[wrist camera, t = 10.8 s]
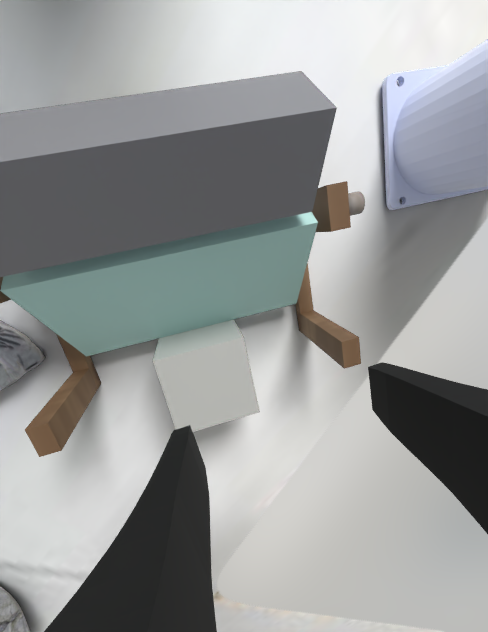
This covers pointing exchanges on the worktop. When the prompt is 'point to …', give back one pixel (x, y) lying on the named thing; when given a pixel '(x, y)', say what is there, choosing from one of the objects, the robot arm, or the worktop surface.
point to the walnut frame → (334, 340)
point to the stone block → (206, 376)
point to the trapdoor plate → (161, 207)
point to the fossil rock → (16, 355)
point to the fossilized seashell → (11, 614)
